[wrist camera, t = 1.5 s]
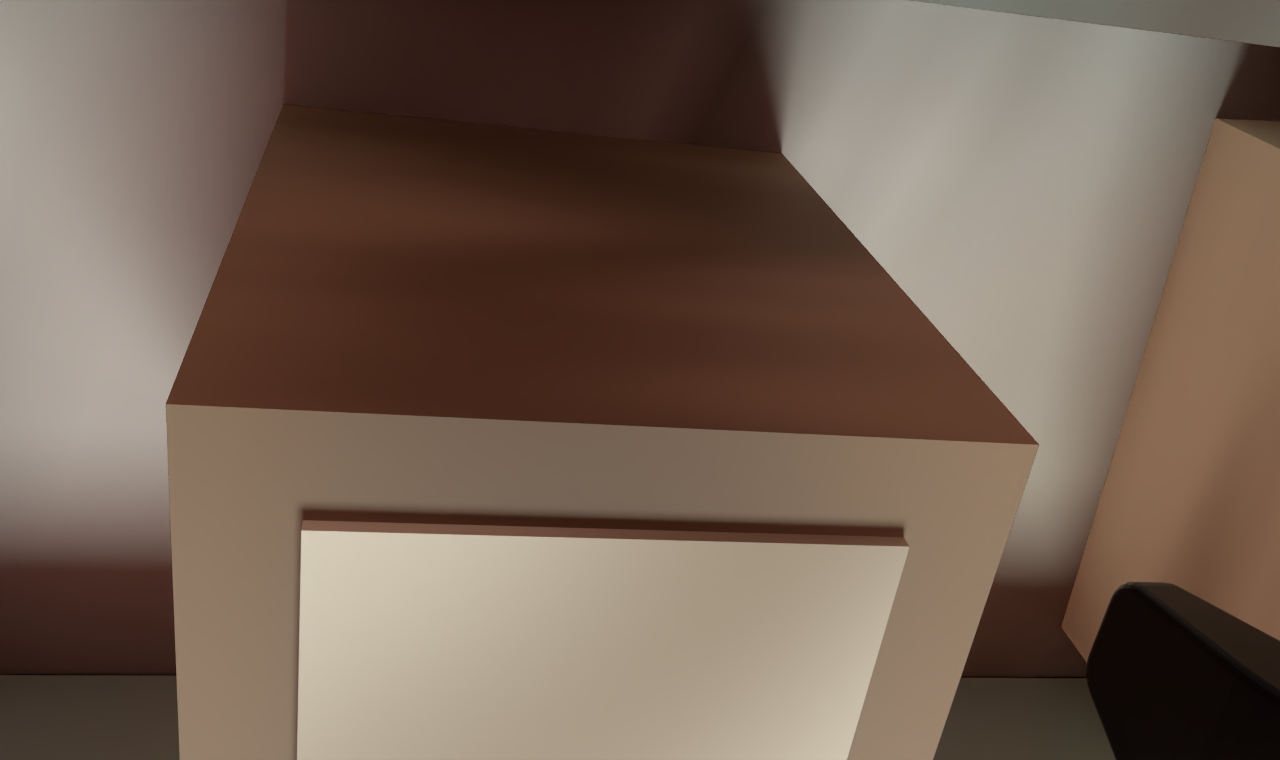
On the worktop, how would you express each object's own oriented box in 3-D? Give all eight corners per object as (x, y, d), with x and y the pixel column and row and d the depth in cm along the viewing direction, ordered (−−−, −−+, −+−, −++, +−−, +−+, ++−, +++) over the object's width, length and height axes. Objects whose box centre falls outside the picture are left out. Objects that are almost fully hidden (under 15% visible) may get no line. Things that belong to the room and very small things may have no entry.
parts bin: (1787, 5, 13) (2051, 55, 11) (1392, 720, 18) (1524, 853, 16) (-443, -329, 9) (-719, -353, 7) (-201, 728, 14) (-319, 913, 12)
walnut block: (780, 152, 12) (1045, 453, 7) (702, 545, 15) (858, 998, 9) (283, 103, 11) (162, 413, 6) (280, 534, 14) (187, 1038, 8)
